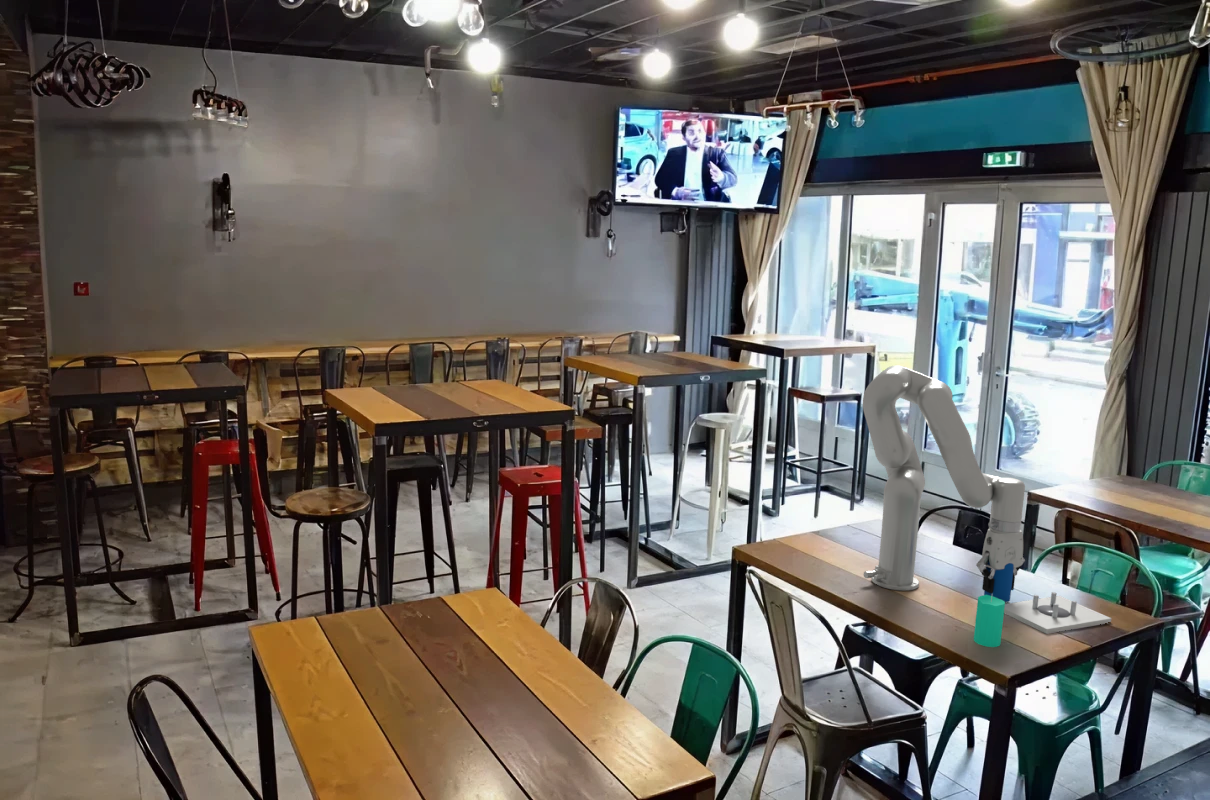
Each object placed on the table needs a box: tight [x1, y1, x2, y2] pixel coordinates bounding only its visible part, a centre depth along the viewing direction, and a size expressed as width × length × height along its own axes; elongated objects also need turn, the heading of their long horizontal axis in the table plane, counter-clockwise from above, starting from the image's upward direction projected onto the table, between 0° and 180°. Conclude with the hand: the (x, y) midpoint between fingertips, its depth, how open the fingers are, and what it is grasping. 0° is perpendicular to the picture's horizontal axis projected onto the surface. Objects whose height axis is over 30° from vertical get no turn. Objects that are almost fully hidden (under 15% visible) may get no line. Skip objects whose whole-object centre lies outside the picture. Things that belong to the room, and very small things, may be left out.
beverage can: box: [983, 561, 1014, 604], centre depth 250 cm, size 6×6×12 cm
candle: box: [973, 594, 1006, 648], centre depth 223 cm, size 6×6×12 cm
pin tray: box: [1004, 591, 1112, 635], centre depth 241 cm, size 22×16×5 cm
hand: (997, 589), depth 251 cm, fingers closed on beverage can, 6 cm apart
